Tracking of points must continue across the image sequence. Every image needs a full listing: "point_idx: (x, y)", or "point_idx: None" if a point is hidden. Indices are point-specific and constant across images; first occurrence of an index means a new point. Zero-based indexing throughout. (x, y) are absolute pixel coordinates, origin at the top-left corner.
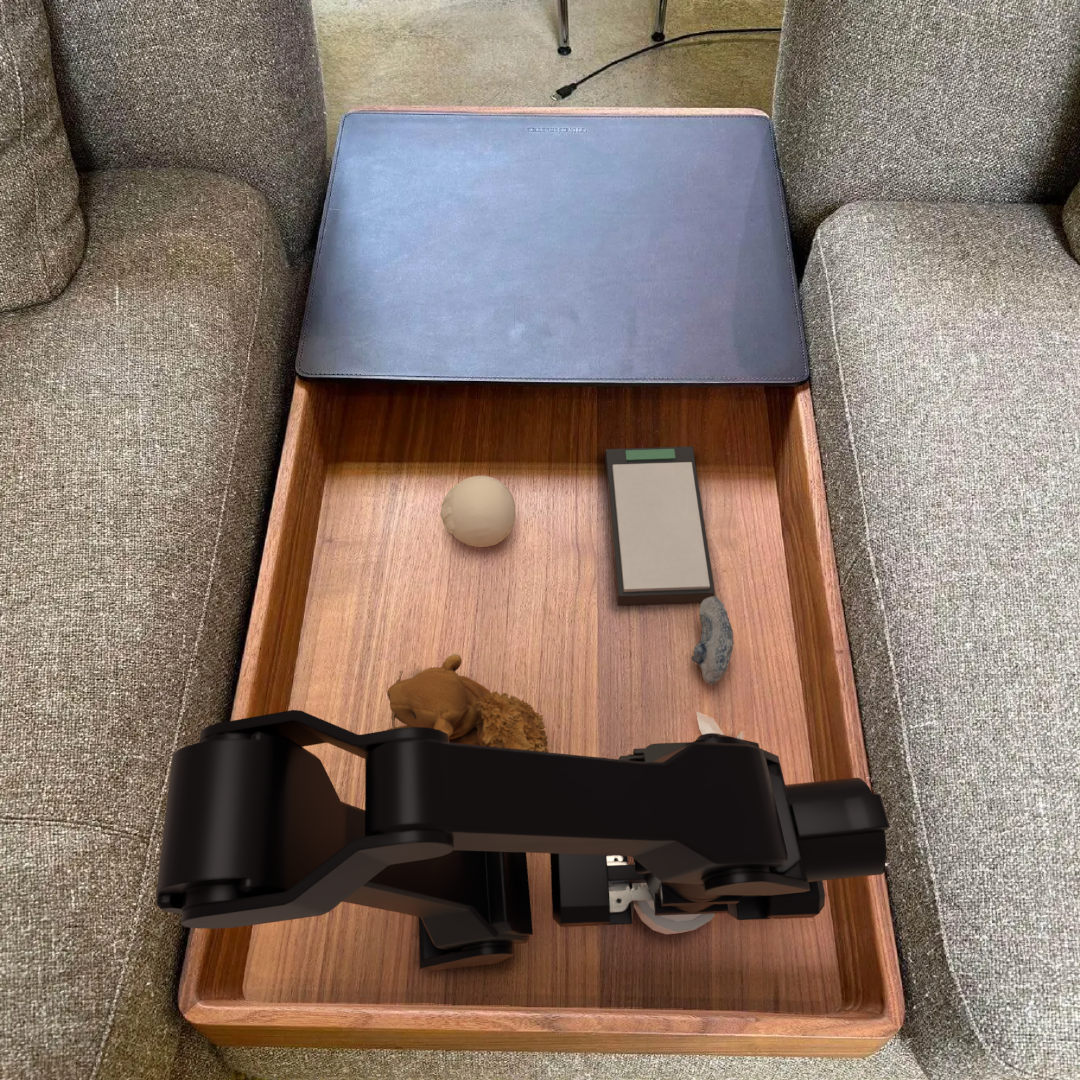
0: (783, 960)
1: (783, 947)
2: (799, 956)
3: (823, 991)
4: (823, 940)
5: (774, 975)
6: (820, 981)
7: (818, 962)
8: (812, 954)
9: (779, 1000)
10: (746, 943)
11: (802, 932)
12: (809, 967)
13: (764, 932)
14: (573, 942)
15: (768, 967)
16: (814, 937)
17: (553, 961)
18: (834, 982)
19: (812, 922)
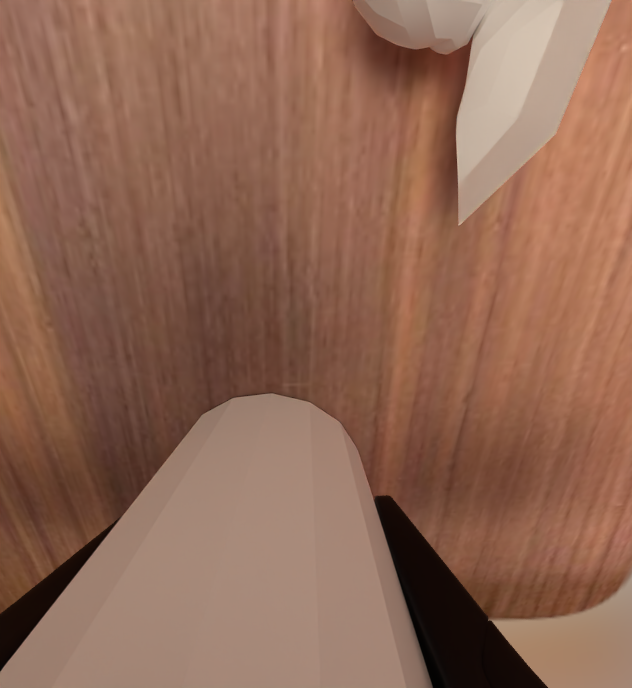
0: (521, 567)
1: (530, 549)
2: (559, 561)
3: (583, 604)
4: (627, 536)
5: (493, 587)
6: (585, 592)
7: (595, 568)
8: (589, 557)
9: (490, 616)
10: (449, 545)
11: (585, 525)
12: (572, 575)
13: (496, 527)
14: (65, 553)
15: (485, 577)
16: (609, 532)
17: (34, 579)
18: (613, 593)
19: (618, 508)
